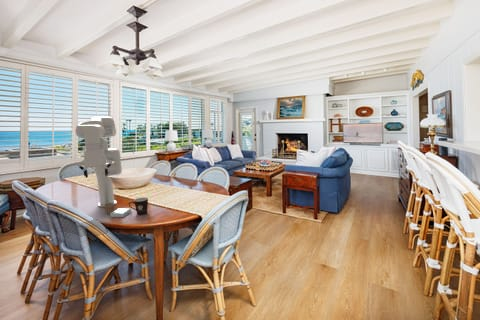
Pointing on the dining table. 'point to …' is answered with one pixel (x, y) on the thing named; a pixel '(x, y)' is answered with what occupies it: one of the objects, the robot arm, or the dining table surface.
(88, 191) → the dining table surface
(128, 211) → the trivet
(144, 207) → the coffee mug
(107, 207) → the walnut block
